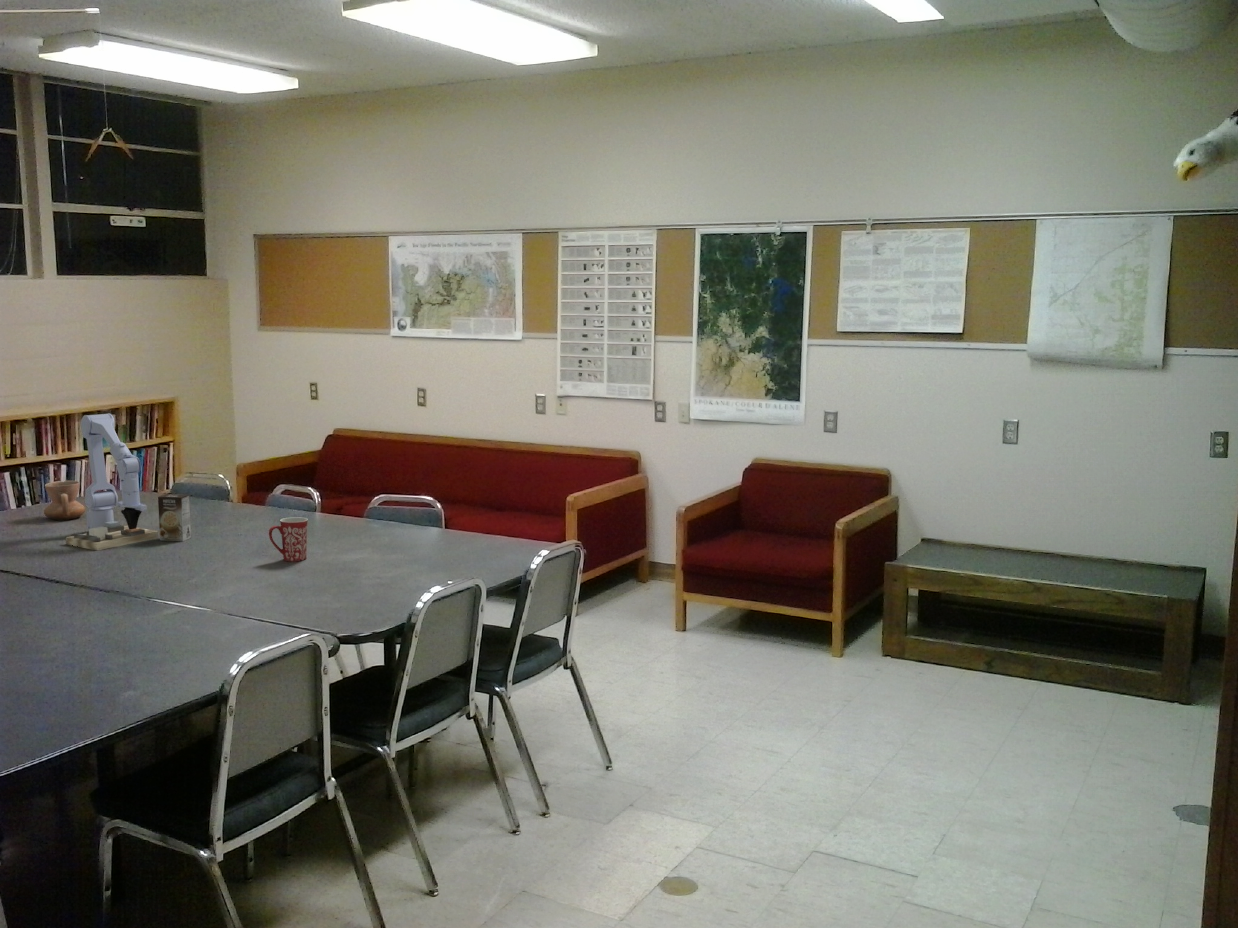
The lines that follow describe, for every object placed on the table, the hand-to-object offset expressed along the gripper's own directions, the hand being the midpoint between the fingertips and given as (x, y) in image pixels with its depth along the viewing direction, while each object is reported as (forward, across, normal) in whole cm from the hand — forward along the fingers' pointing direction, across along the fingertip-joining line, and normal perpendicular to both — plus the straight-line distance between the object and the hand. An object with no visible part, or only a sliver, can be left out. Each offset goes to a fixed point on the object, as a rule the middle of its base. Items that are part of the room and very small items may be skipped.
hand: (132, 528), depth 387 cm
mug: (+5, +69, +10) cm, 70 cm away
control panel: (+4, -6, -4) cm, 8 cm away
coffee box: (+5, +10, +10) cm, 15 cm away
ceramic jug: (+5, -59, +11) cm, 60 cm away
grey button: (0, -12, 0) cm, 12 cm away
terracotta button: (+1, 0, 0) cm, 1 cm away
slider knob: (+2, -2, -12) cm, 12 cm away
